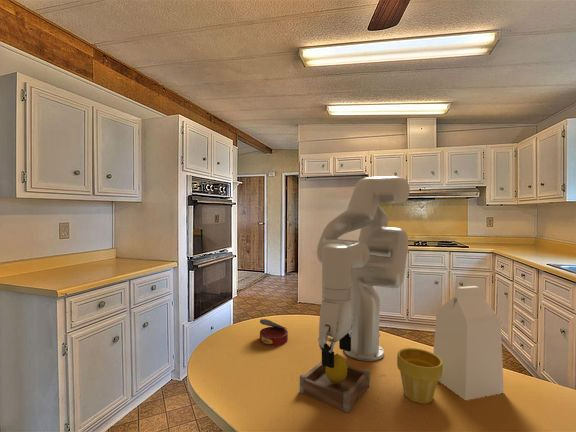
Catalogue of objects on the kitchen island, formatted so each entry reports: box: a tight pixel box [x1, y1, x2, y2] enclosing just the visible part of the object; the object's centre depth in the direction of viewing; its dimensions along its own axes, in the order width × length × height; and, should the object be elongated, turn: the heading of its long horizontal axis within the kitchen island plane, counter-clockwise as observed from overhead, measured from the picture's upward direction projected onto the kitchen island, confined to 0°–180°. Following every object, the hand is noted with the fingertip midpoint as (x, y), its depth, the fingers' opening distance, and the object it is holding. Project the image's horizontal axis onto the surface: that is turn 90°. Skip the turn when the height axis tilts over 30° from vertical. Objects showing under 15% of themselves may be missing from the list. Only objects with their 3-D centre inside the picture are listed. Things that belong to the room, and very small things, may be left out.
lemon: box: [326, 353, 348, 385], centre depth 80 cm, size 6×6×8 cm
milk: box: [432, 285, 505, 401], centre depth 82 cm, size 12×12×26 cm
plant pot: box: [396, 347, 443, 404], centre depth 77 cm, size 10×10×10 cm
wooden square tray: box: [299, 360, 371, 414], centre depth 80 cm, size 14×14×4 cm
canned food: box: [259, 318, 289, 347], centre depth 109 cm, size 11×10×10 cm
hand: (336, 357), depth 80 cm, fingers open, 9 cm apart
